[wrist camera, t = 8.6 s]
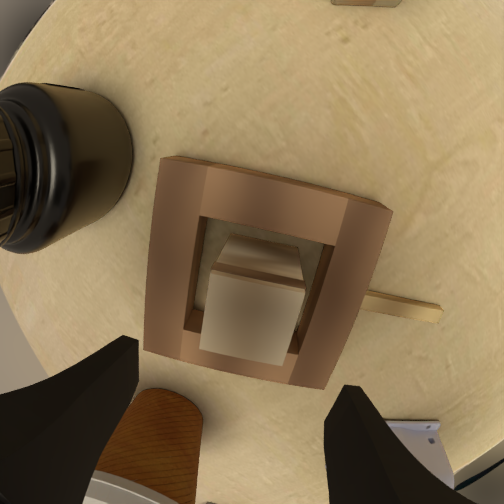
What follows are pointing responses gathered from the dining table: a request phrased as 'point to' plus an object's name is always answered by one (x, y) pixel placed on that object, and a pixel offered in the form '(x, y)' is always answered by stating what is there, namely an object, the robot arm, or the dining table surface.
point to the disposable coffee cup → (150, 453)
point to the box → (368, 2)
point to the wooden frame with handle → (277, 220)
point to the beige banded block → (253, 300)
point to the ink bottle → (57, 162)
